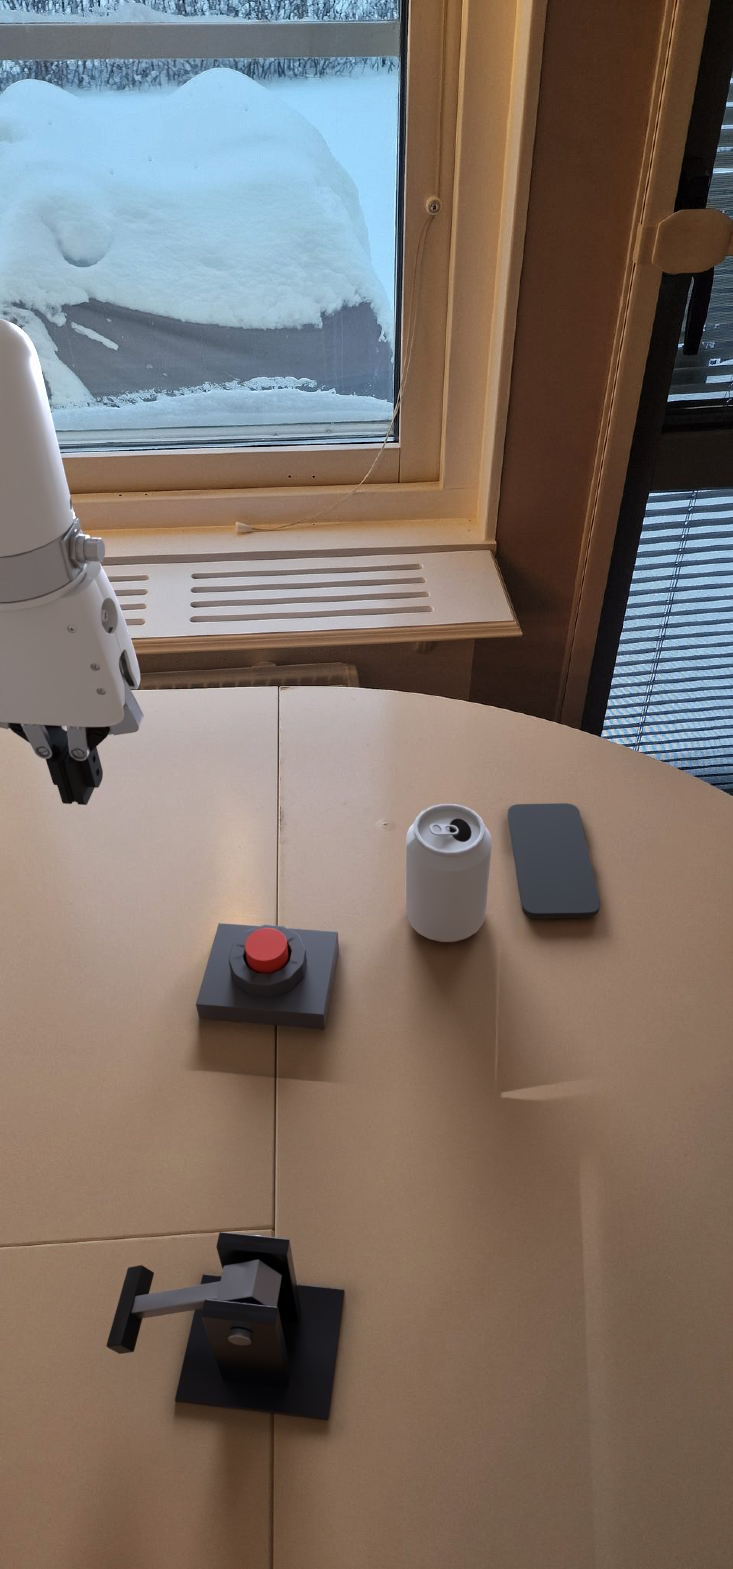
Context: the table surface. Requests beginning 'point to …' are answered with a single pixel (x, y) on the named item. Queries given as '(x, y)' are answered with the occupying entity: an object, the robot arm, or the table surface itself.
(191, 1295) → the lever
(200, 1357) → the bracket
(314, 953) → the button block
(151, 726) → the table surface
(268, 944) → the button
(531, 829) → the phone
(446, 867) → the can
